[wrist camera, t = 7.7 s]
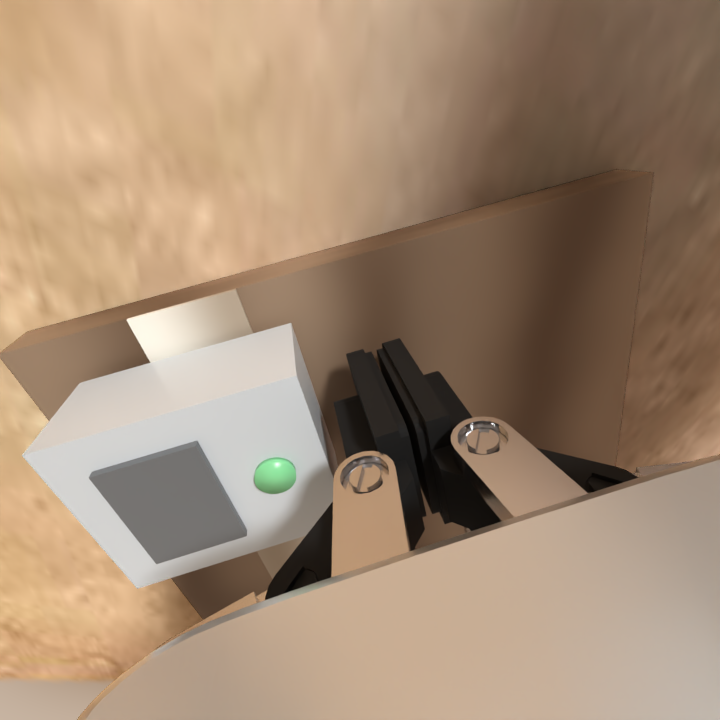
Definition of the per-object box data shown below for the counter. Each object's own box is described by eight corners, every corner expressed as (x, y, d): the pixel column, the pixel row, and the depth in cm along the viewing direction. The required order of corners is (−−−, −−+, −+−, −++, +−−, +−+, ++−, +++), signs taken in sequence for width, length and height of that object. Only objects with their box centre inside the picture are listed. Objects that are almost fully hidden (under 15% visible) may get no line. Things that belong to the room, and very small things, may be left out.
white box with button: (291, 322, 12) (296, 379, 9) (334, 451, 14) (350, 528, 11) (79, 382, 11) (16, 461, 8) (162, 503, 14) (135, 595, 11)
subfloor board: (616, 169, 13) (657, 172, 12) (587, 494, 21) (610, 519, 19) (27, 331, 12) (-6, 356, 11) (225, 610, 20) (221, 646, 18)
